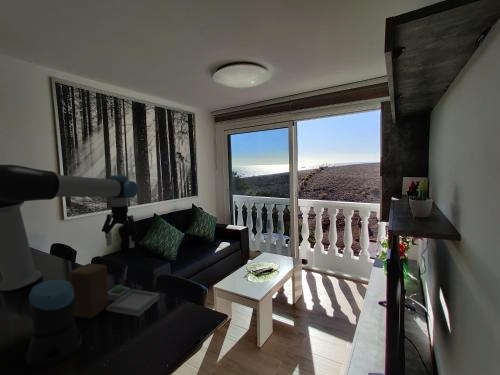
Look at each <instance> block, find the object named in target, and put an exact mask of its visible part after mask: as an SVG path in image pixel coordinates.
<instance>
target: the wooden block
mask: <svg viewBox="0 0 500 375" xmlns="http://www.w3.org/2000/svg"><path fill="white" fill-rule="evenodd" d="M107 269H108V267H107V265H105V264H99V263H98V264H97V263H87V264H85V265H82V266H80V267H78V268H76V269H73V270H72V271H70V274H69V275H70V278H69V279H70V283H71V284H72V286H73V291H74V315H75V317H76V318H77V317H78V318H83V319H90V320H91V319H93V318H95V317H96V316H97V315H99V314H100V313H101V312H103V311H104V310H106V307H108V306H109V300H108V291H109V290H108V270H107Z"/></svg>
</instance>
